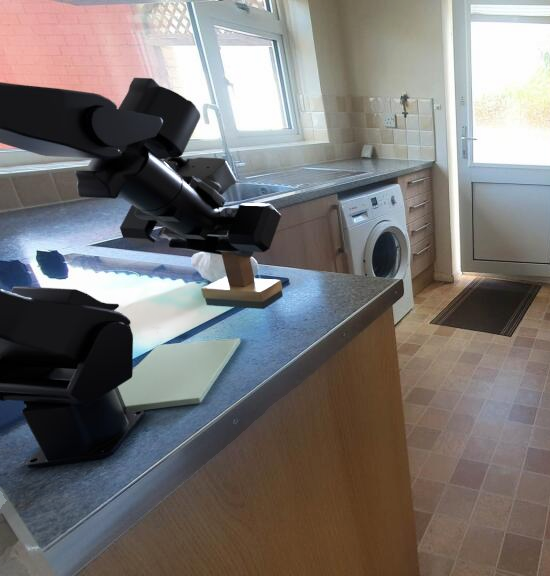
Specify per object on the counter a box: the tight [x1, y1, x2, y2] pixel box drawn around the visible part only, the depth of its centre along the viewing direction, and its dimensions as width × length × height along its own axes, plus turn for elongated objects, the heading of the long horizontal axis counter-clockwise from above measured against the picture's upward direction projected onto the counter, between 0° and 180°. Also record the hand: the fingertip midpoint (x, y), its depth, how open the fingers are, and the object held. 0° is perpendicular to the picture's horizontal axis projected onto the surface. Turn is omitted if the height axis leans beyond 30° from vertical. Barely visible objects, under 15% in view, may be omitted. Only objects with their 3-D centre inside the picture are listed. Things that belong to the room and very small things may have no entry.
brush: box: [201, 236, 284, 310], centre depth 60 cm, size 5×9×13 cm, turn 86°
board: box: [118, 337, 242, 412], centre depth 51 cm, size 14×10×1 cm
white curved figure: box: [190, 252, 260, 283], centre depth 77 cm, size 12×8×11 cm
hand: (242, 254), depth 61 cm, fingers closed on brush, 2 cm apart
